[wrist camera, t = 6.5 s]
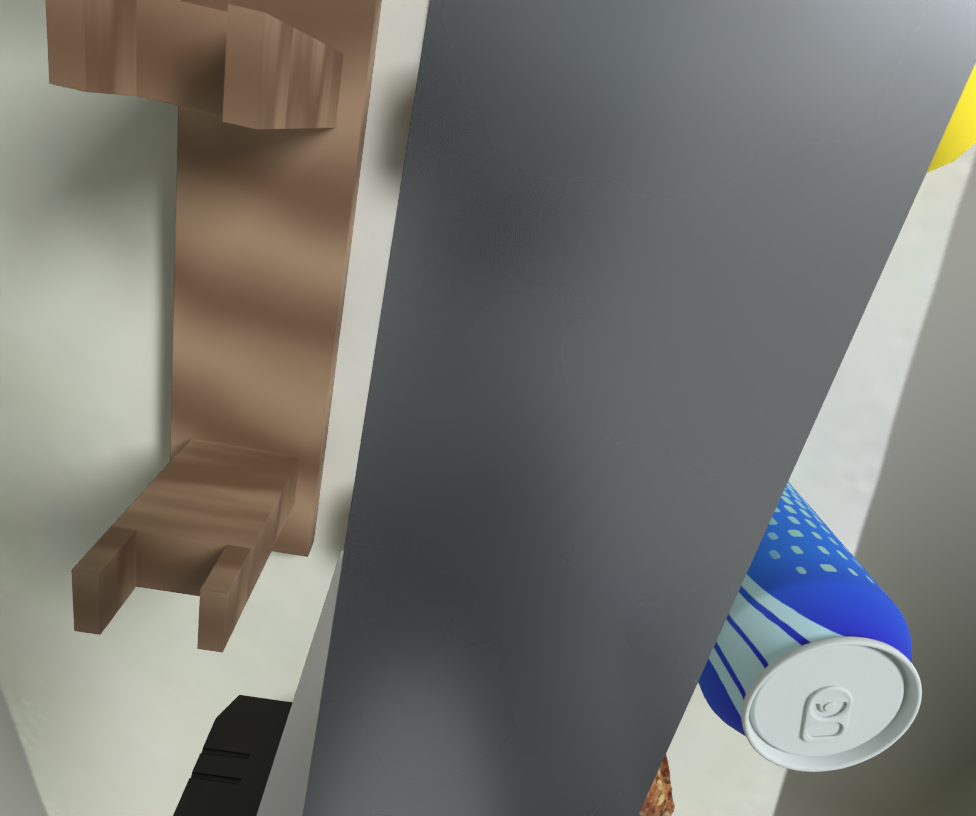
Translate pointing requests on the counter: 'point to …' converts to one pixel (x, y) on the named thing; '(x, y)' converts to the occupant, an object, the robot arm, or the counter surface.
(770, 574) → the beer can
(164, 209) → the counter surface
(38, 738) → the counter surface
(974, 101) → the lemon
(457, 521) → the steel rail
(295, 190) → the walnut rack
